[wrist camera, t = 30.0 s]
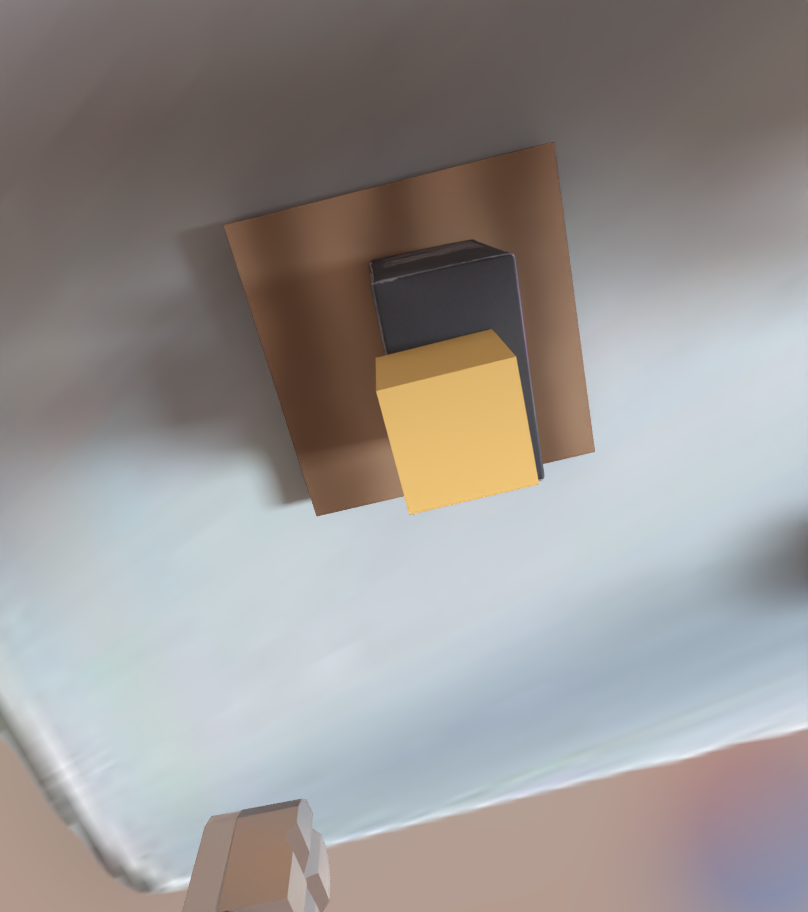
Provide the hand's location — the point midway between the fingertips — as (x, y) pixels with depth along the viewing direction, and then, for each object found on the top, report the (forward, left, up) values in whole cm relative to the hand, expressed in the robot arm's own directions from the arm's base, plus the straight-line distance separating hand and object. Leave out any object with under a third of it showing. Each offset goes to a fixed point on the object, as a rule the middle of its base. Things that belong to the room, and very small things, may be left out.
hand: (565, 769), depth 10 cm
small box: (-1, 0, -30) cm, 30 cm away
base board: (0, 0, -33) cm, 33 cm away
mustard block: (0, 0, -20) cm, 20 cm away
